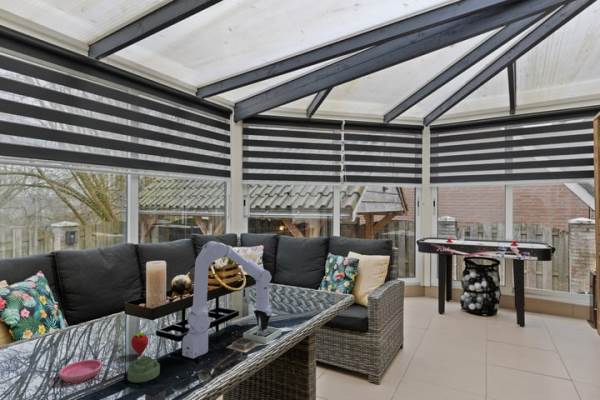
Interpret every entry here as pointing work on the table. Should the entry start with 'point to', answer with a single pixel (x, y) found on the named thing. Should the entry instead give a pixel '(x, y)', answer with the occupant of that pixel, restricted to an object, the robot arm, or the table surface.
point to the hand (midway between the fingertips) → (262, 327)
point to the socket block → (243, 345)
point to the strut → (260, 331)
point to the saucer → (80, 370)
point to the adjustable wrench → (241, 319)
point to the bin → (248, 335)
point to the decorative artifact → (143, 369)
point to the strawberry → (139, 342)
